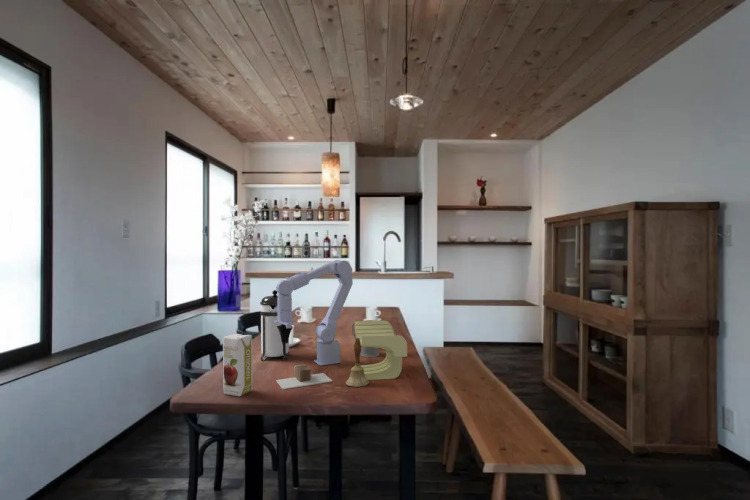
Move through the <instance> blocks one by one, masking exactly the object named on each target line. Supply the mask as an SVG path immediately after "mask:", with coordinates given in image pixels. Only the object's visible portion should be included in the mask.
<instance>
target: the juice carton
mask: <svg viewBox="0 0 750 500" xmlns="http://www.w3.org/2000/svg"><path fill="white" fill-rule="evenodd" d="M222 358H223V360H222V361H223V362H222V363H223V364H222V366H223V367H222V371H223V373H222V375H223V378H222V379H223V382H222V383H223V385H222V386H223V388H222V390H223V394H224V395H228V396H235V397H242V396H245V394H248V393H250V392H252V391H253V335H252V334H245V335H243V334H241V333H240V334H239V333H233V334H229V335H226V336H224V337H223V339H222Z"/></svg>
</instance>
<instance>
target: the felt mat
mask: <svg viewBox="0 0 750 500" xmlns="http://www.w3.org/2000/svg"><path fill="white" fill-rule="evenodd" d="M275 381H276V383H277V384H278V385H279V387H280V388H281V390H290V389H295V388H301V387H308V386H314V385H315V386H316V385H320V384H327V383H332V382H333V380H332V379H331V377H329V376H327V375H326V373H324V372H321V373H315V374H311V380H310V381H304V382H299V381H298V380H297V379H296V378H295V376H294V377H288V378H280V379H276V380H275Z"/></svg>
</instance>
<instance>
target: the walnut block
mask: <svg viewBox="0 0 750 500" xmlns="http://www.w3.org/2000/svg"><path fill="white" fill-rule="evenodd" d="M311 373H312V372H311V368H310V367H308V365H306V364H298V365H294V377H295V378H296V379H297V380H298V381H299V382H304V381H310V380H311V375H312V374H311Z"/></svg>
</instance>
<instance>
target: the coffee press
mask: <svg viewBox="0 0 750 500" xmlns="http://www.w3.org/2000/svg"><path fill="white" fill-rule="evenodd" d="M271 293H272V295H268V296H267V295H266V296H264V297H262V299H261V301H260V302H259V304H260V334H261V335H260V337H261V338H260V339H261V340H260V341H261V342H260V343H261V344H260V345H261V346H260V347H261V349H260V352H261V357H260V360H261V361H266V359H267V358H278V357H281V358H282V360H283V361H285V360H287V359H288V356H287V355H289V354H290V339H289V340H288V343H285V344H283V343H282V341H281V336H280V332H279V330H278V328H277V326H280V325H281V324H279V323H275V321H277V320H278V304H277V299H278V292H277V290H276V289H274V290H272V292H271Z"/></svg>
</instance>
